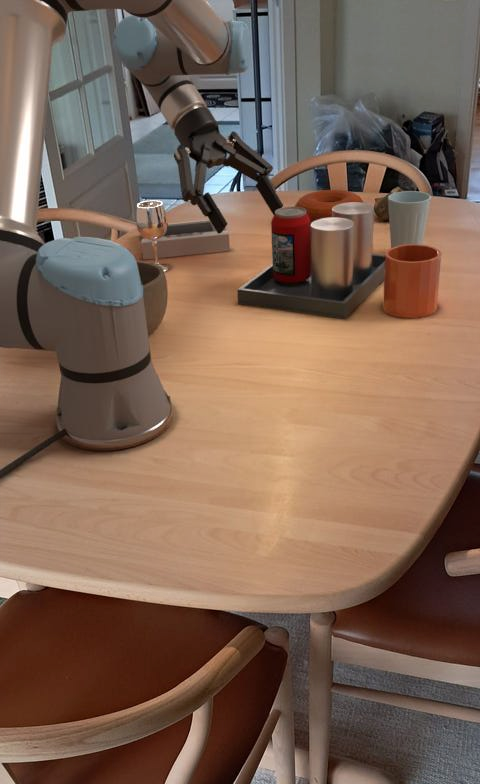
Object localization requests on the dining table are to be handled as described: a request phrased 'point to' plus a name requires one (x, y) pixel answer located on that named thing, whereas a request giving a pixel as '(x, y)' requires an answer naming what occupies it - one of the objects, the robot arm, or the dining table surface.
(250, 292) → the tray
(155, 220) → the wineglass
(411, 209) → the cup
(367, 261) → the silver can
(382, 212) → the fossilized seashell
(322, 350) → the dining table surface
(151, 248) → the rectangular box
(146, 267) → the bowl
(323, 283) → the silver can
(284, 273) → the beverage can
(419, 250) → the terracotta mug
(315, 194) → the donut
